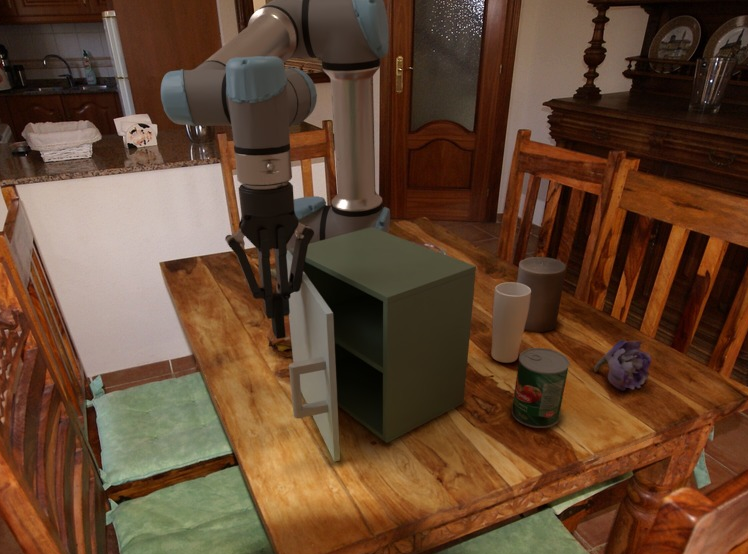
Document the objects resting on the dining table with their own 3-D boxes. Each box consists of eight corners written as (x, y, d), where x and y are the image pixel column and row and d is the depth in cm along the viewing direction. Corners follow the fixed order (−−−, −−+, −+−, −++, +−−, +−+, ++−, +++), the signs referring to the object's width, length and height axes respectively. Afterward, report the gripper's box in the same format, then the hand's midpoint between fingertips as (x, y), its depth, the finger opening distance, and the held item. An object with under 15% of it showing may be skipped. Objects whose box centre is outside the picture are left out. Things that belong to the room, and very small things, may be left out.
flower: (578, 345, 106) (636, 336, 99) (594, 346, 112) (650, 338, 106) (585, 395, 105) (644, 389, 98) (601, 393, 111) (657, 388, 105)
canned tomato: (567, 414, 99) (579, 359, 93) (543, 434, 94) (553, 378, 89) (527, 395, 104) (535, 343, 98) (502, 414, 99) (509, 359, 94)
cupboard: (386, 443, 93) (387, 297, 80) (300, 376, 111) (289, 248, 98) (463, 403, 102) (476, 266, 89) (372, 347, 120) (371, 226, 107)
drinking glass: (522, 367, 112) (533, 297, 105) (487, 364, 113) (494, 295, 106) (520, 350, 118) (530, 282, 110) (487, 347, 119) (494, 280, 112)
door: (301, 469, 88) (288, 320, 75) (268, 383, 109) (252, 255, 96) (340, 460, 90) (333, 312, 77) (299, 377, 111) (288, 250, 98)
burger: (310, 333, 126) (308, 314, 124) (319, 354, 119) (317, 334, 116) (265, 340, 124) (263, 321, 122) (271, 361, 117) (269, 341, 114)
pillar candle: (566, 326, 126) (577, 262, 119) (531, 336, 123) (541, 270, 115) (535, 309, 134) (545, 247, 126) (502, 318, 131) (509, 255, 123)
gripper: (223, 194, 74) (243, 353, 86) (318, 183, 78) (325, 337, 90) (213, 181, 80) (233, 331, 92) (302, 173, 84) (310, 317, 96)
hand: (279, 334), depth 91 cm, fingers closed
